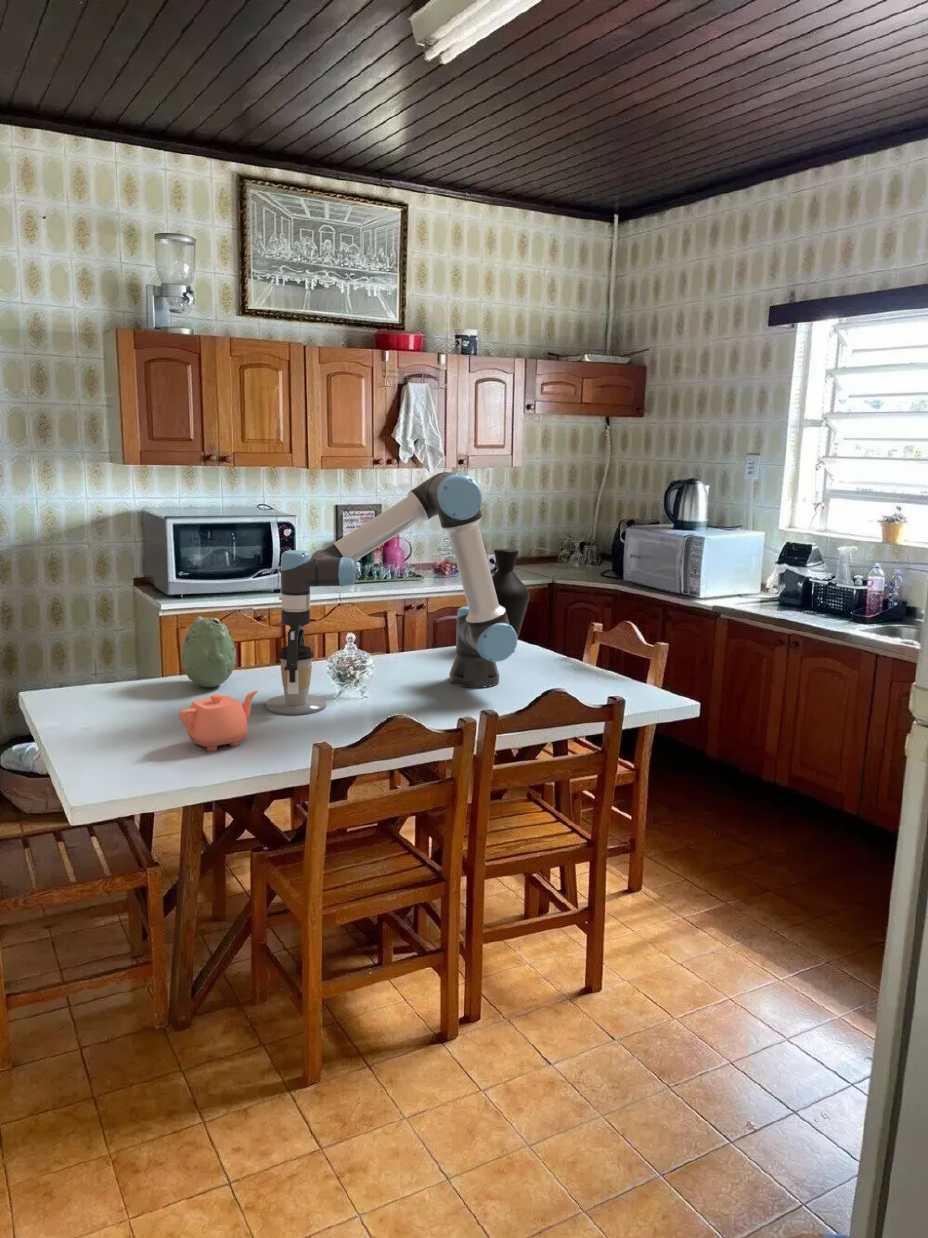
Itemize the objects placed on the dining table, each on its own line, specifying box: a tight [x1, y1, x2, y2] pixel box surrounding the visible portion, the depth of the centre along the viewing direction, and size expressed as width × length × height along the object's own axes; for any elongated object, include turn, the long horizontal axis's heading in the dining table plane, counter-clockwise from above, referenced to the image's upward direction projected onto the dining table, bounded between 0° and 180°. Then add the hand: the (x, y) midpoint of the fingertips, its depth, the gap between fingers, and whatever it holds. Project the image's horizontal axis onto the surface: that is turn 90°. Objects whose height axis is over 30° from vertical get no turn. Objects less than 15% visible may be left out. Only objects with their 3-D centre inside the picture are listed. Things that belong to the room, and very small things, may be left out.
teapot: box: [178, 690, 258, 752], centre depth 217 cm, size 20×12×12 cm, turn 132°
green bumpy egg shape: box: [181, 615, 237, 688], centre depth 262 cm, size 16×19×20 cm
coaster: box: [265, 694, 327, 716], centre depth 248 cm, size 16×16×1 cm
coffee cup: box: [277, 645, 315, 706], centre depth 246 cm, size 9×9×15 cm
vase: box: [491, 548, 530, 641], centre depth 313 cm, size 17×17×35 cm
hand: (296, 686), depth 247 cm, fingers open, 13 cm apart
